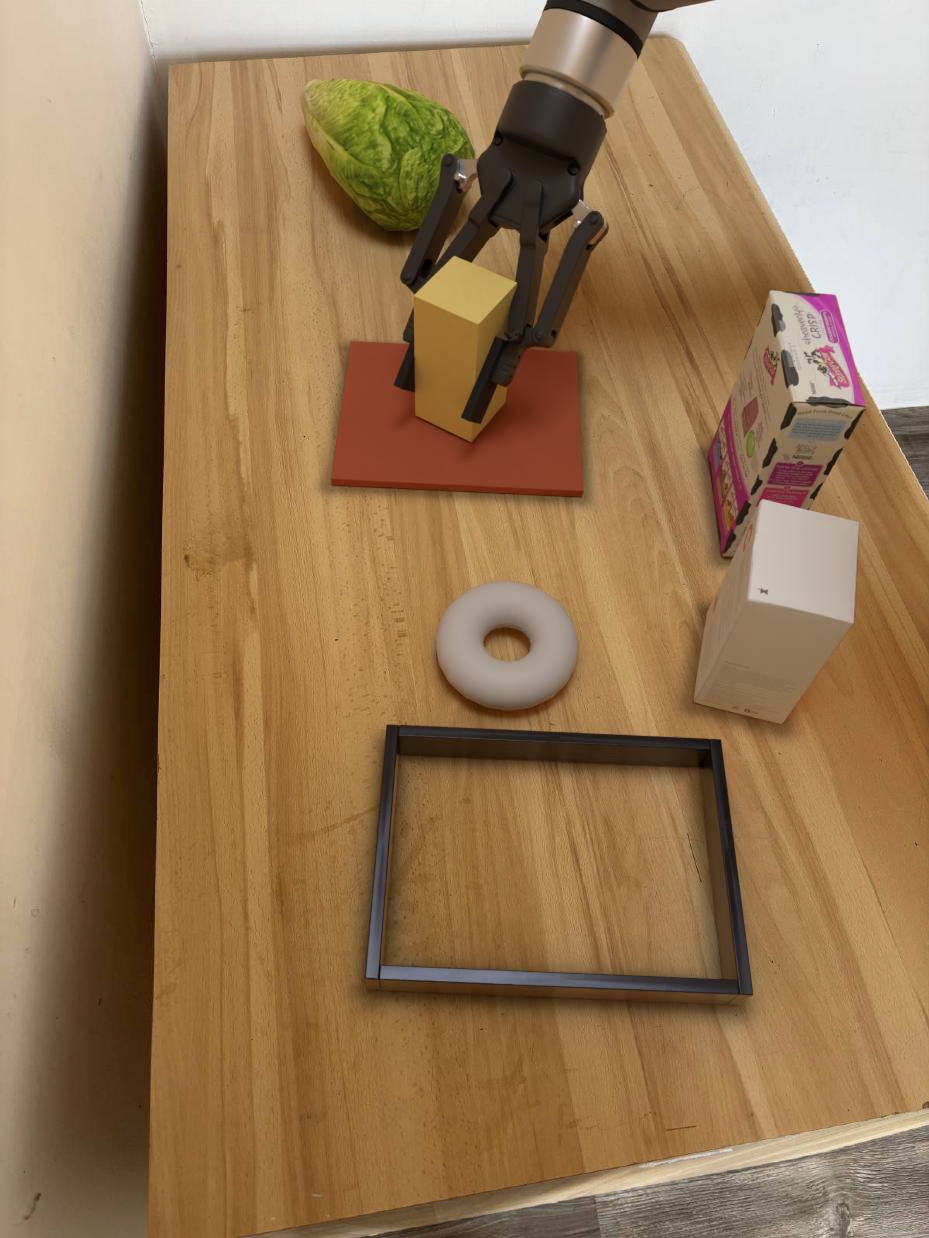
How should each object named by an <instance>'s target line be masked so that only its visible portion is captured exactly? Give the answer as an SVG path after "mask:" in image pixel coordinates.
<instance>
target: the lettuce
mask: <svg viewBox="0 0 929 1238" xmlns="http://www.w3.org/2000/svg"><path fill="white" fill-rule="evenodd" d="M300 91H301V92H300V94H299V103H300V107H301V110H302V115H303V120H304V124H305V125H304V126H305V129H306V131H307V134H308V136H309V138H310V141H311V143H312V145H313V147H314V148H315V149H316V151H317V153H318V154H319V155H320V157H321V158H322V160H323V162H324V164H325V166H326V168H327V170H328V171H329V173H330V175H331V176H332V178H333V179H334V180H335V181H336V182H337V184H339V186H341V188H342V189H343V191H345V192H346V194H347V195H348V196H349V198H350V199H351V200H352V201H353V202H354V203H355V204H356V205H357V207H358V208H359V209H360V210H361V211H362V212H363V213H364V214H366V216H368V217H369V218H370V220H372V221H373V222H375V224H377V225H378V226H380V227H381V228H383V229H384V230H385V231H392V232H395V231H396V232H410V231H411V232H412V231H414V230H417V229H420V228H421V225H422V223H423V221H424V218H425V216H426V214H427V211H428V209H429V207H430V204H431V202H432V200H433V197H434V195H435V193H436V190H437V188H438V186H439V177H440V168H441V161H442V158H443V156H444V155H446V154H448V153H451V154H453V155H454V156H455V157H456V158H458V159H476V151H475V149H474V148H473V144H472V143H471V140H470V137H469V135H468V133H467V131H466V130H465V128H464V127H463V125H462V124H461V122H460V121H459V119H458V118H457V116H456V115H455V114H454V113H453V112H451V111H450V110H449V108H447V107H445V105H443V104H441V103H439V102H437V101H436V100H434V99H432V98H430V97H428V96H426V95H425V94H423V93H421V92H420V91H417V90H413V89H409V88H405V87H401V86H398V85H393V84H390V83H384V82H377V81H371V80H359V79H349V78H313V79H312V80H310V81H308V82H307V83H306V84H304V85H303V87H302V89H301V90H300ZM469 191H470V190H468V191H465V195H464V199H465V197H466V196H467V194H468V193H469Z"/></svg>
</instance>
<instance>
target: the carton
mask: <svg viewBox="0 0 929 1238" xmlns="http://www.w3.org/2000/svg"><path fill="white" fill-rule="evenodd" d="M516 288H517V282H515V280H512V279H509V278H508V277H506V276H503V275H501V274H498V273H495V272H493V271H491V270H489V269H487V268H484V267H481V266H479V265H477V264H475V263H473V262H472V263H470V262H468V261H465V260H463V259H461V258H458V257H456V256H453V257H452V258H451V259H450V260H449V261H448V262H447V263H446V264H445V265H444V266H443V267H442V268H441V269H440V270H439V271H438V272H437V273H436V274H435V275H434V276H433V277H432V278H431V279H430V280H429V281H428V282H427V283H426V284H425V285H424V286H423V287H422V288H421V289H420V290H419V291H418V292H417V293H416V294H415V295H414V294H413V307H414V356H415V415H416V416H418V417H420V418H422V419H424V420H426V421H428V422H430V423H432V424H435V425H437V426H439V427H441V428H443V429H445V430H447V431H449V432H451V433H453V434H455V435H457V436H459V437H461V438H463V439H465V440H467V441H470V442H472V441H473V440H474V439H475V438H476V436H477V435H478V434H479V433H480V432H481V431H482V429H483V428H484V427H485V426H486V425H487V423H488V422H489V421H490V420H491V419H492V418H493V416H494V415H495V414H496V413H497V412H498V410H499V409H500V408H501V407H502V406H503V405H504V403H505V402H506V392H507V387H503V386H500V385H497V388H496V390H495V392H494V395H493V397H492V399H491V402H490V404H489V406H488V408H487V411H486V413H485V415H484V418H483V420H482V422H481V424H478V423H474V422H469V421H467V420H465V419H463V418H461V415H462V413H463V411H464V408H465V406H466V404H467V401H468V399H469V397H470V394H471V392H472V390H473V387H474V385H475V383H476V381H477V378H478V376H479V374H480V371H481V369H482V367H483V364H484V362H485V360H486V357H487V355H488V352H489V350H490V348H491V345H492V343H493V341H494V338H495V336H497V337H499V338H501V339H503V340H505V341H506V340H507V339H506V338H505V336H504V332H507V331H508V324H509V318H510V311H511V305H512V298H513V295H514V293H515V291H516Z"/></svg>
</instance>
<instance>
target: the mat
mask: <svg viewBox="0 0 929 1238" xmlns="http://www.w3.org/2000/svg"><path fill="white" fill-rule="evenodd" d="M409 344H410V343H402V342H401V343H399V342H377V341H358V340H350V345H349V349H348V350H349V351H348V356H347V358H348V359H347V365H346V371H345V379H344V385H343V393H342V398H341V406H340V411H339V412H340V413H339V420H338V421H339V422H338V427H337V434H336V440H335V441H336V442H335V448H334V455H333V461H332V469H331V476H330V481H331V485H332V486H348V487H365V488H366V487H367V488H368V487H369V488H388V489H409V490H411V489H412V490H433V491H450V492H452V491H453V492H474V493H493V494H494V493H495V494H512V495H513V494H515V495H516V494H517V495H536V496H537V495H538V496H558V497H578V498H579V497H580V498H581V497H583V493H584V478H583V477H584V476H583V460H582V458H583V457H582V453H583V452H582V435H581V433H582V431H581V414H580V413H581V412H580V391H579V370H578V368H579V367H578V353H577V352H576V351H563V350H561V351H560V350H541V349H539V350H538V349H527V350H526V351H525V352H524V354H523V357H522V359H521V361H520V363H519V366H518V368H517V370H516V373H515V375H514V377H513V380H512V382H511V383H510V384H509V385H508V386H507V392H506V402H505V403H504V405H503V406H502V407H501V408H500V409H499V410H498V412H497V413H496V414H495V415H494V416H493V418H492V419H491V420H490V421H489V422H488V423H487V425H486V426H485V427H484V428H483V429H482V431H481V432H480V433H479V434H478V435H477V436H476V438H475V439H474V440H473V441H472V442H470V441H467V440H465V439H463V438H461V437H459V436H457V435H455V434H453V433H451V432H449V431H447V430H445V429H443V428H441V427H439V426H437V425H435V424H432V423H430V422H428V421H426V420H424V419H422V418H420V417H418V416H416V415H415V393H414V392H411V391H407V390H403V389H400V388H398V387H396V386H394V385H393V384H394V382H395V379H396V377H397V374H398V372H399V369H400V367H401V364H402V362H403V359H404V357H405V354H406V352H407V349H408V347H409Z"/></svg>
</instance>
